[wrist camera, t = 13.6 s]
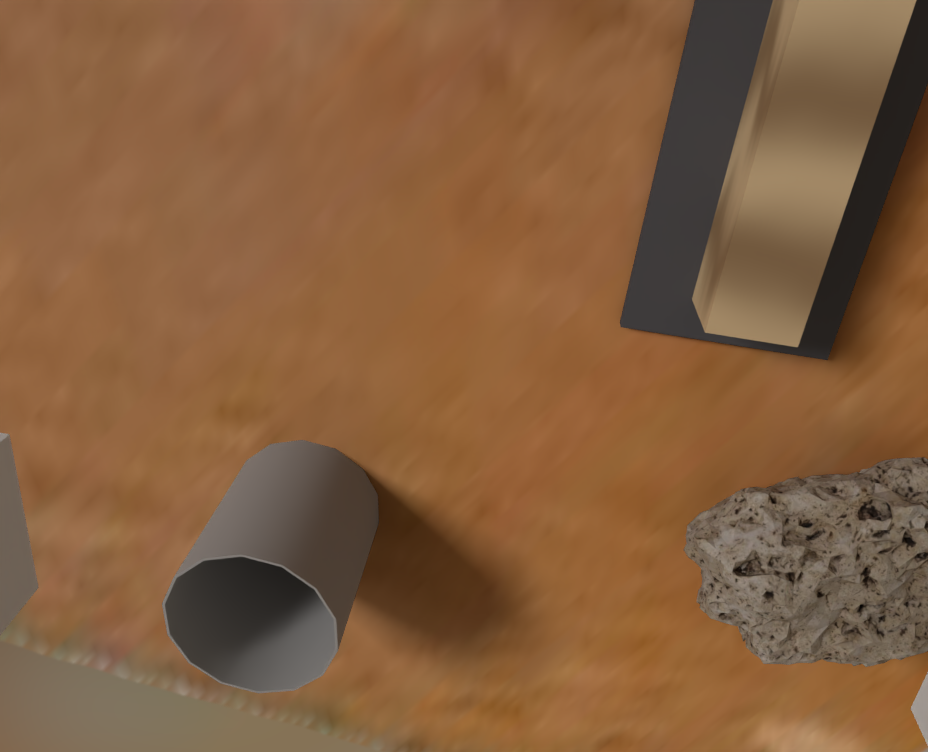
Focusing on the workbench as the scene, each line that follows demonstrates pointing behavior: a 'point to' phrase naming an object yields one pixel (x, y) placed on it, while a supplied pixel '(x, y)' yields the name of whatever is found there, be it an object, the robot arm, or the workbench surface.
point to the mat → (706, 161)
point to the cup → (275, 569)
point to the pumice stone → (821, 565)
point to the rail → (795, 162)
